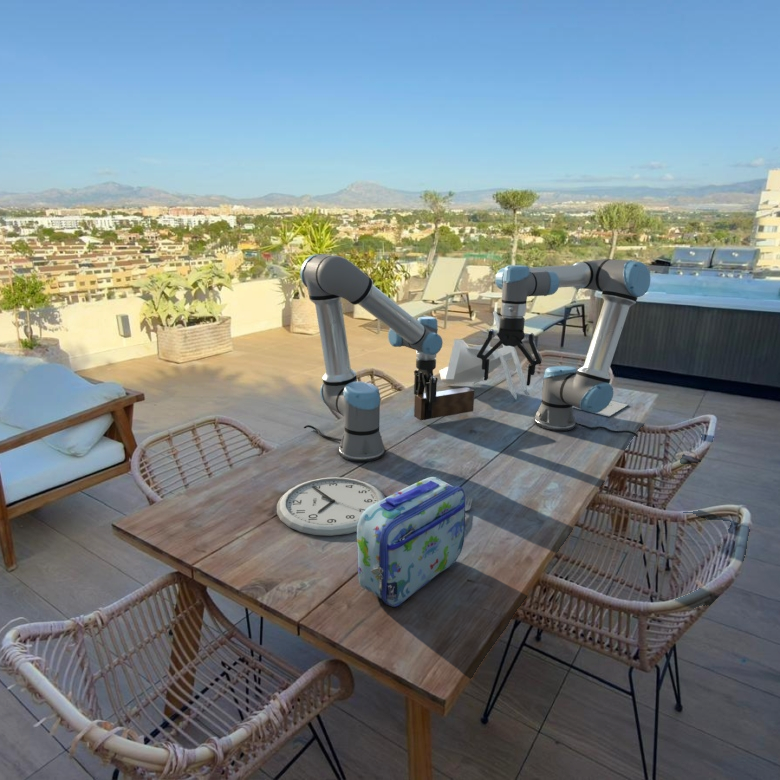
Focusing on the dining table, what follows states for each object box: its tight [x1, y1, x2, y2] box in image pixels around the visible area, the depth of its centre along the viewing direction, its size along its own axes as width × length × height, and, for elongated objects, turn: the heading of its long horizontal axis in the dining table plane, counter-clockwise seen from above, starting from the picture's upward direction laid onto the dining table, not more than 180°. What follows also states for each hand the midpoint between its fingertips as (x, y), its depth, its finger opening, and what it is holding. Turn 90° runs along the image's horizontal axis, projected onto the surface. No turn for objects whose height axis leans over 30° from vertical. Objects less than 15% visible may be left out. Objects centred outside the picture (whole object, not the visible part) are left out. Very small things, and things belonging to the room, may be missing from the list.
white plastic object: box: [438, 310, 531, 400], centre depth 245 cm, size 37×45×31 cm
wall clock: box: [276, 476, 386, 537], centre depth 142 cm, size 30×2×30 cm
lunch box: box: [356, 476, 466, 608], centre depth 110 cm, size 26×11×21 cm, turn 134°
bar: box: [413, 386, 475, 421], centre depth 208 cm, size 25×5×9 cm, turn 117°
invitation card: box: [573, 400, 629, 418], centre depth 226 cm, size 21×1×15 cm
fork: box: [465, 496, 473, 512], centre depth 138 cm, size 3×16×2 cm, turn 160°
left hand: (424, 415), depth 205 cm, fingers closed on bar, 5 cm apart
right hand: (506, 382), depth 169 cm, fingers open, 13 cm apart
